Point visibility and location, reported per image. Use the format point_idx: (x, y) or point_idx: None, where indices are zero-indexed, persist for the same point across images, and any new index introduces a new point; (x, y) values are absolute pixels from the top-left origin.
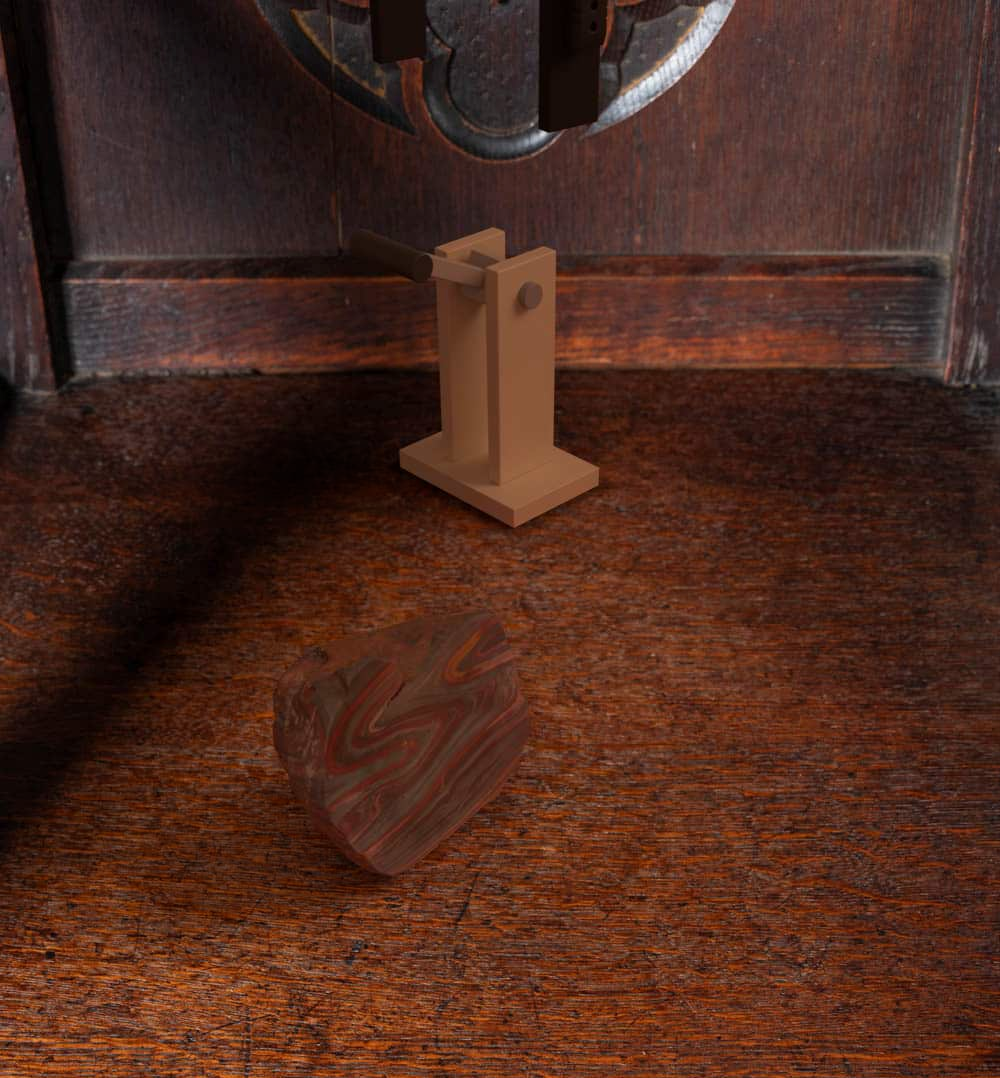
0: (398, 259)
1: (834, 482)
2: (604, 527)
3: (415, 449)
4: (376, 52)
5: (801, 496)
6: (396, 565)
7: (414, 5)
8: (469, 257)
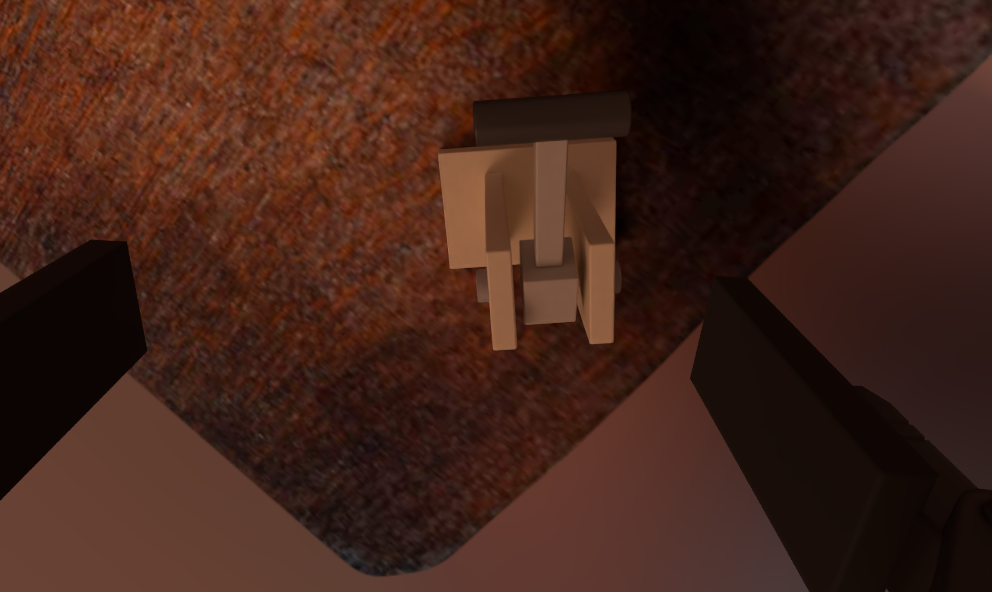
0: (507, 103)
1: (328, 408)
2: (388, 216)
3: (603, 154)
4: (738, 285)
5: (326, 375)
6: (458, 8)
7: (731, 415)
8: (575, 270)
